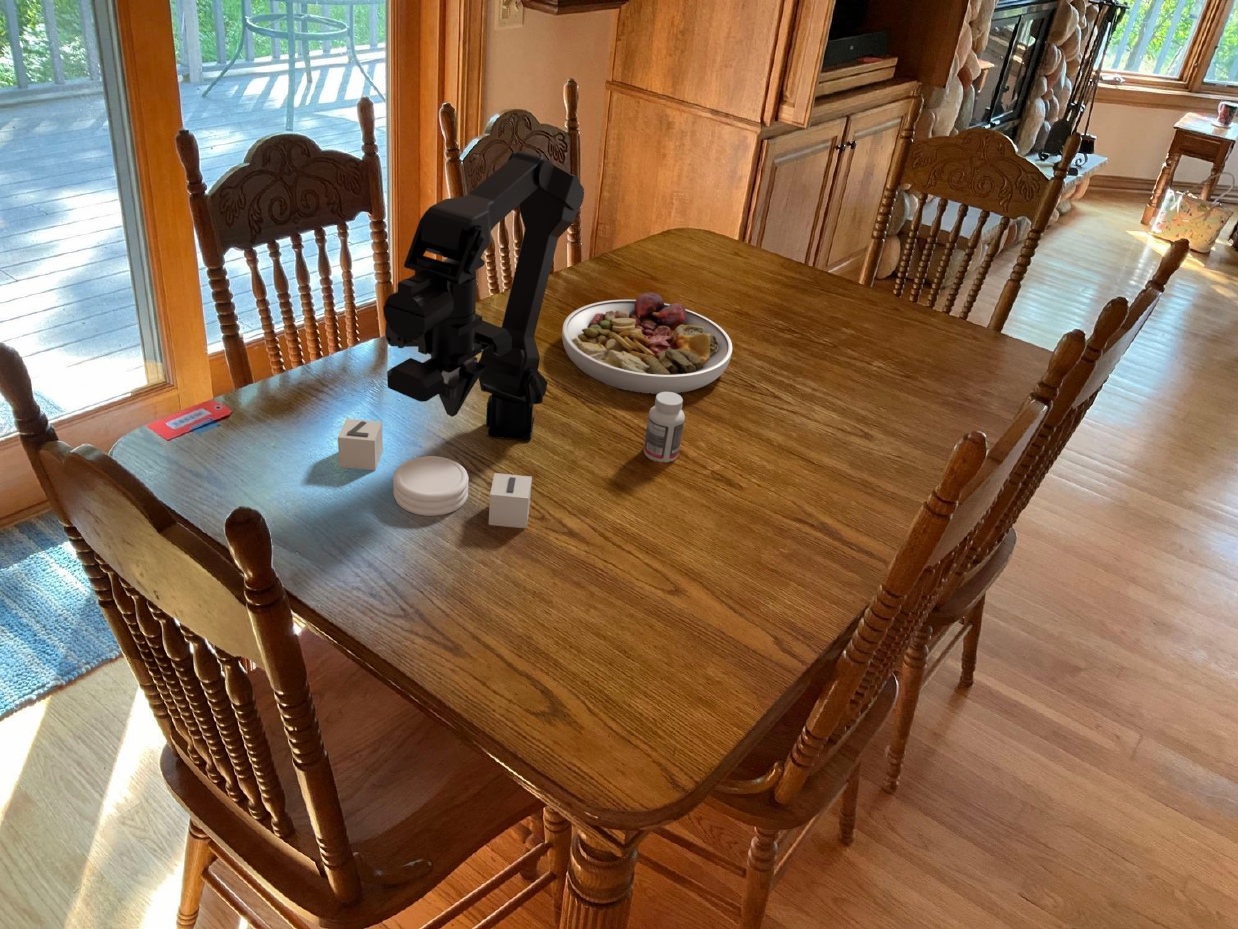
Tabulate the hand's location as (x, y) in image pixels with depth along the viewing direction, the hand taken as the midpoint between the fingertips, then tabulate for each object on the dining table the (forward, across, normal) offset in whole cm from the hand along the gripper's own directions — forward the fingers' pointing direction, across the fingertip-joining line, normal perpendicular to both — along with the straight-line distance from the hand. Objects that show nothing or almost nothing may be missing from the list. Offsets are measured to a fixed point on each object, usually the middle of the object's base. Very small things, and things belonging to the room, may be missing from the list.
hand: (451, 414), depth 130 cm
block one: (+11, +2, +11) cm, 16 cm away
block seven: (+11, +4, -13) cm, 17 cm away
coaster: (+11, +4, 0) cm, 12 cm away
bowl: (+12, -51, +2) cm, 53 cm away
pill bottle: (+11, -25, +20) cm, 34 cm away
